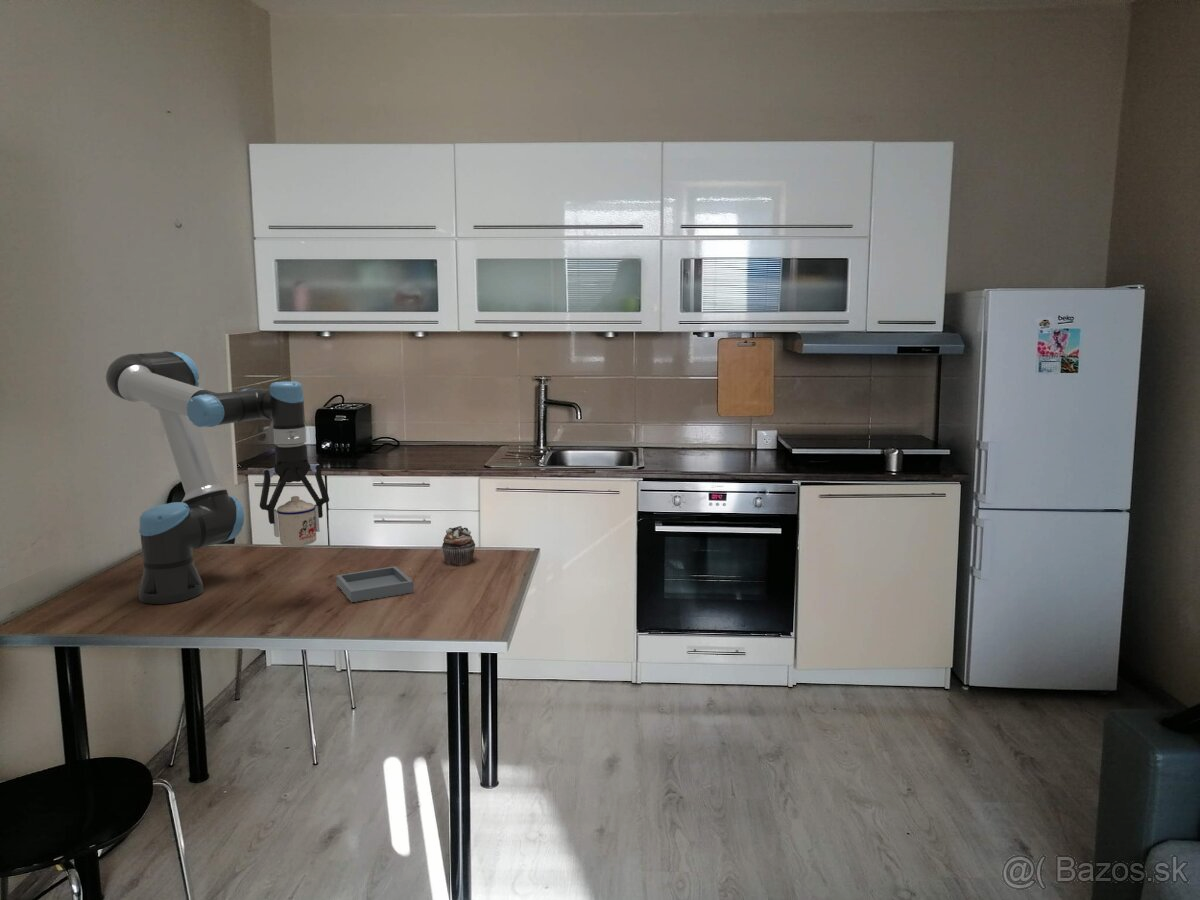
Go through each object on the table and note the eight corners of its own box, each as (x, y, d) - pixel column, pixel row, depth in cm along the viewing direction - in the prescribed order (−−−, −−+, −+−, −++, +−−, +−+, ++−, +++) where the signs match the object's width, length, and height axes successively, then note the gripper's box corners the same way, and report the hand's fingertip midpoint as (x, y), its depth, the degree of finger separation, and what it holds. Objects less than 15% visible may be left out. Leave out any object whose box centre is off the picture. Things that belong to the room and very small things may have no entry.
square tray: (351, 603, 226) (350, 591, 225) (337, 586, 240) (336, 575, 239) (413, 592, 233) (413, 581, 233) (396, 576, 247) (395, 566, 247)
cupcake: (435, 562, 260) (433, 528, 259) (461, 555, 268) (459, 522, 266) (456, 568, 254) (455, 533, 253) (482, 560, 261) (481, 527, 260)
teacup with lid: (305, 547, 220) (301, 501, 218) (271, 546, 222) (268, 500, 220) (330, 535, 231) (327, 490, 229) (298, 533, 233) (295, 489, 231)
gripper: (245, 450, 214) (253, 542, 217) (338, 442, 224) (344, 530, 227) (241, 446, 220) (249, 535, 224) (332, 438, 230) (337, 524, 234)
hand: (297, 533), depth 226 cm, fingers closed on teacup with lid, 9 cm apart
